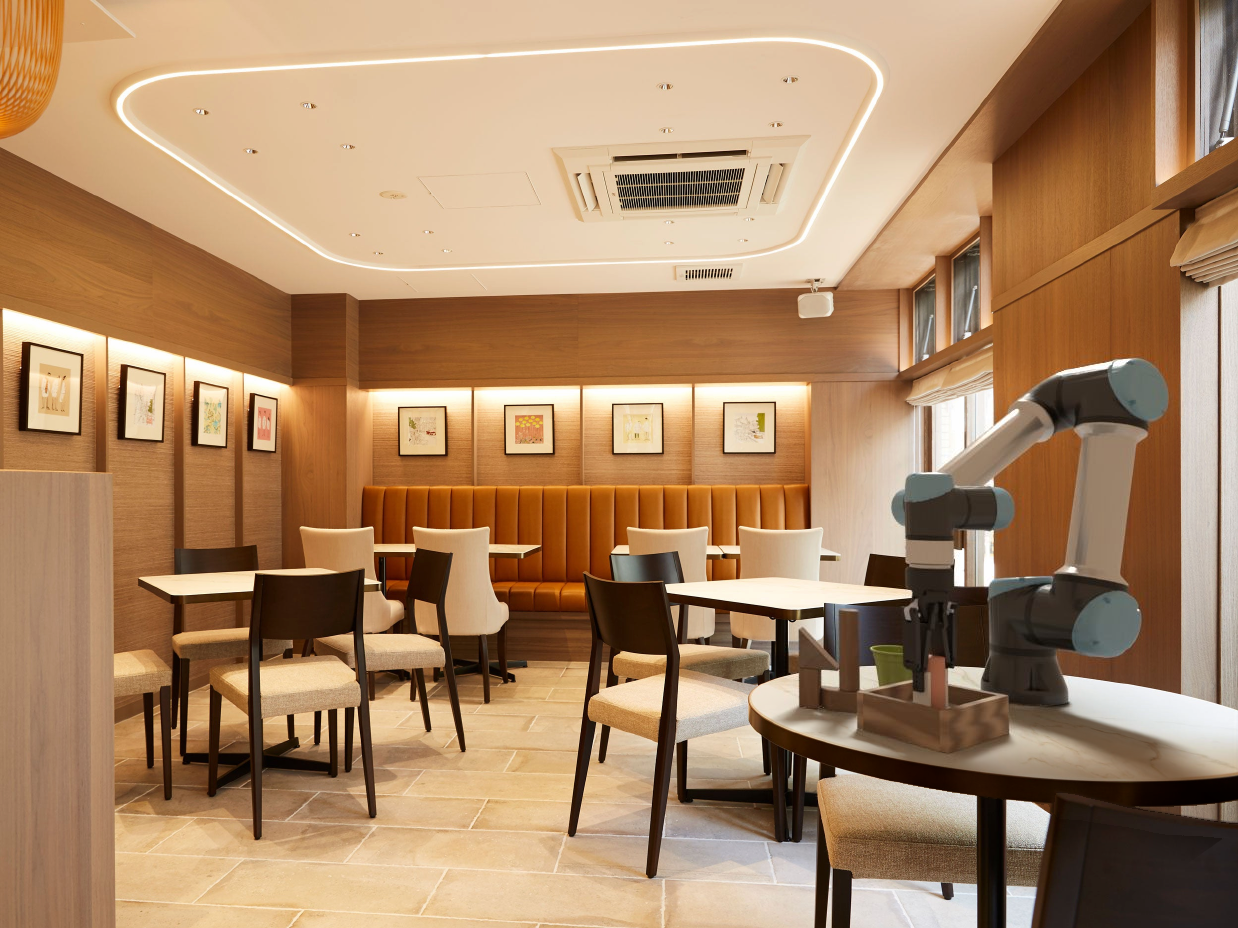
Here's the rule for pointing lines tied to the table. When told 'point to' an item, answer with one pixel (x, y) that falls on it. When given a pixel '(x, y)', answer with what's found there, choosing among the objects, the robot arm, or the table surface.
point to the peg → (937, 681)
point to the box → (933, 716)
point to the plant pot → (890, 665)
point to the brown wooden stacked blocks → (831, 667)
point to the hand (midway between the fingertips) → (930, 709)
